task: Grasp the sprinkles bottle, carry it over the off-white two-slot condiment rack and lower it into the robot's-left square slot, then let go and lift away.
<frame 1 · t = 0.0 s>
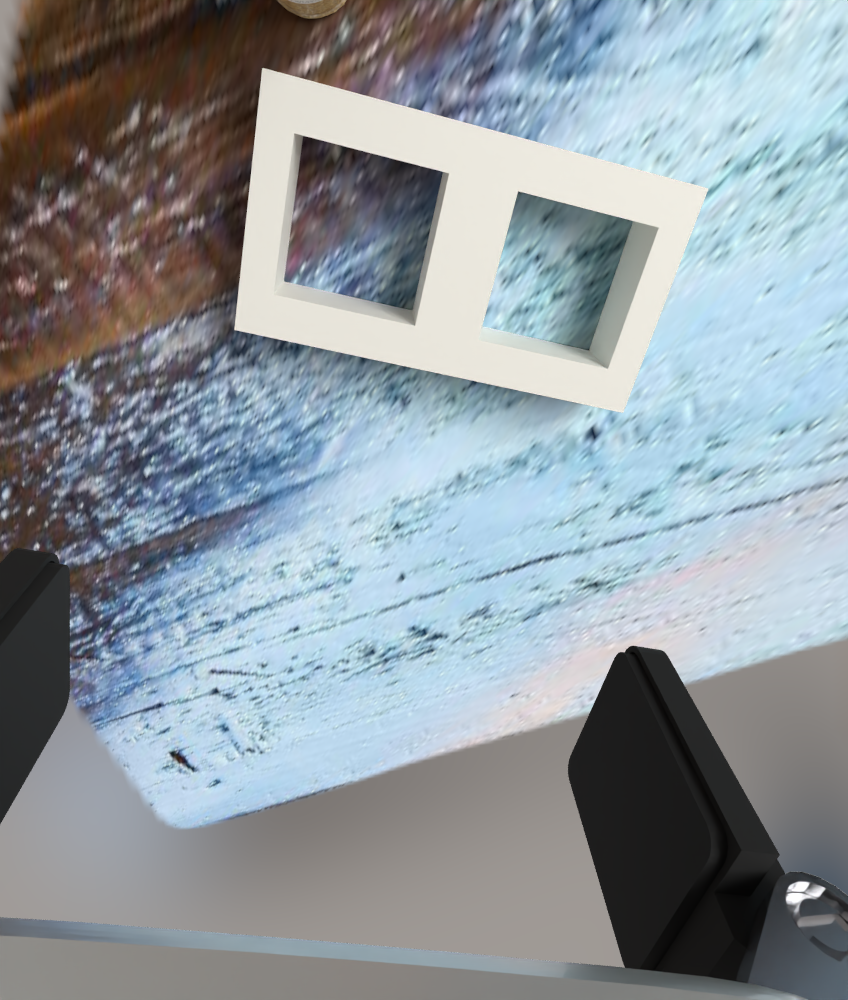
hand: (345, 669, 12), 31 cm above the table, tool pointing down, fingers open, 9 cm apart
condiment rack: (457, 251, 38), on the table
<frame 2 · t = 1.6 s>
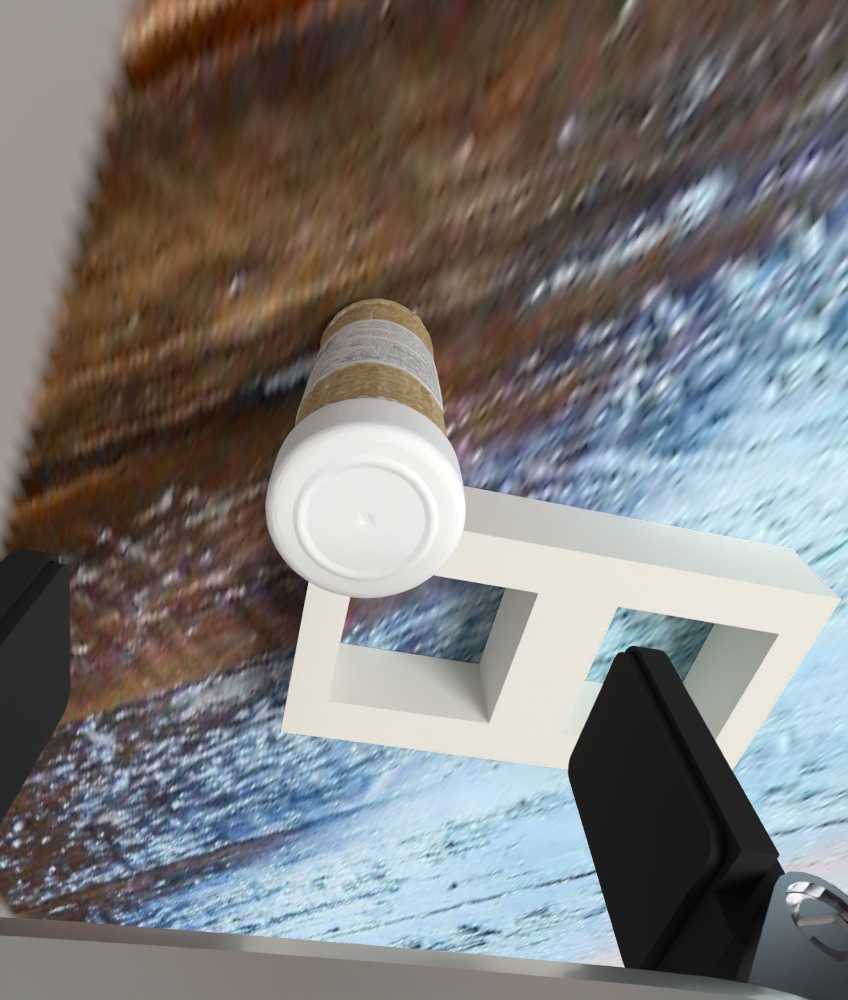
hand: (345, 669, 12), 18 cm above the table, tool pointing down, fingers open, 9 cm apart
sprinkles bottle: (377, 351, 27), on the table
condiment rack: (533, 611, 33), on the table
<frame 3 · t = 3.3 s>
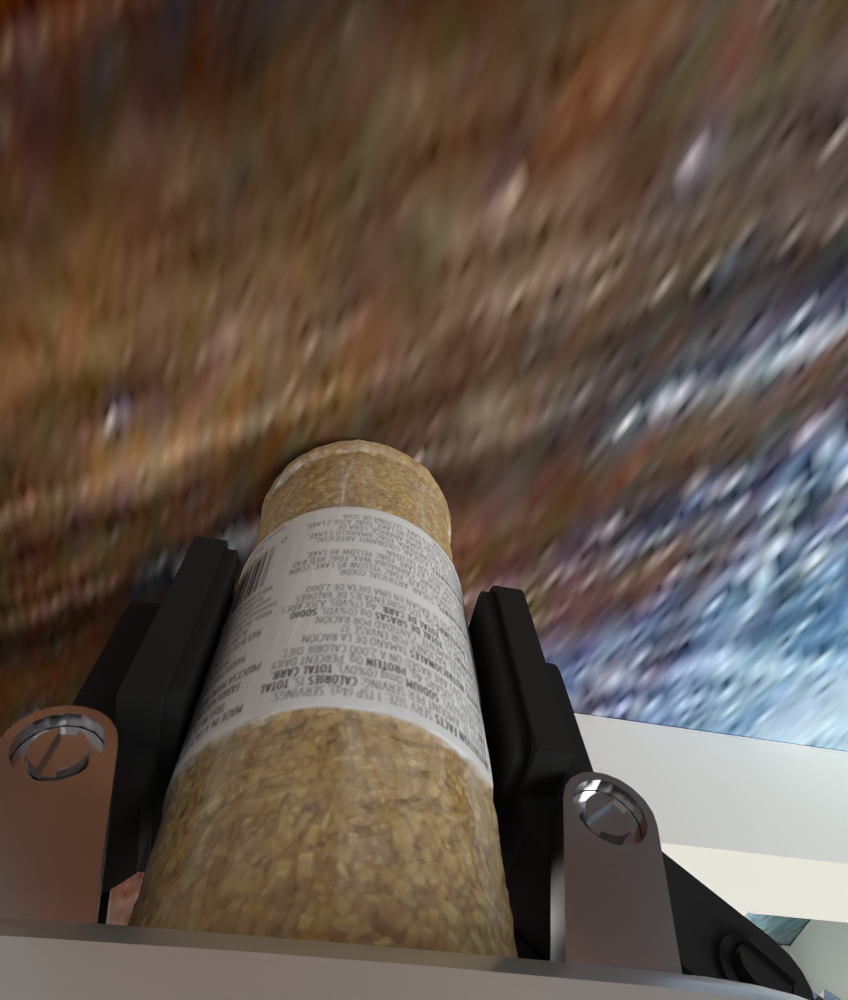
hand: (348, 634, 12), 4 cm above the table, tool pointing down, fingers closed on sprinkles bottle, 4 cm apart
sprinkles bottle: (357, 515, 16), on the table, touching gripper
condiment rack: (593, 856, 22), on the table
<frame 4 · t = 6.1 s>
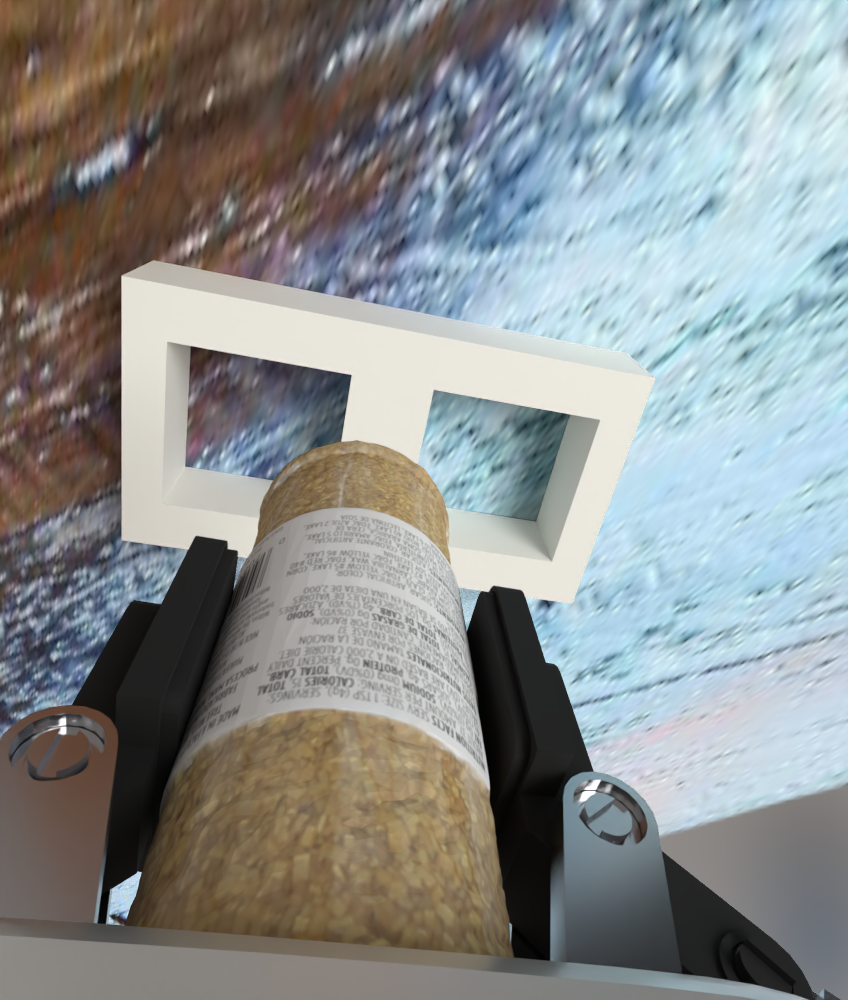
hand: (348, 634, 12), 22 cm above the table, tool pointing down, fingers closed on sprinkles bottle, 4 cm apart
sprinkles bottle: (356, 516, 16), point 17 cm above the table, touching gripper
condiment rack: (378, 429, 34), on the table
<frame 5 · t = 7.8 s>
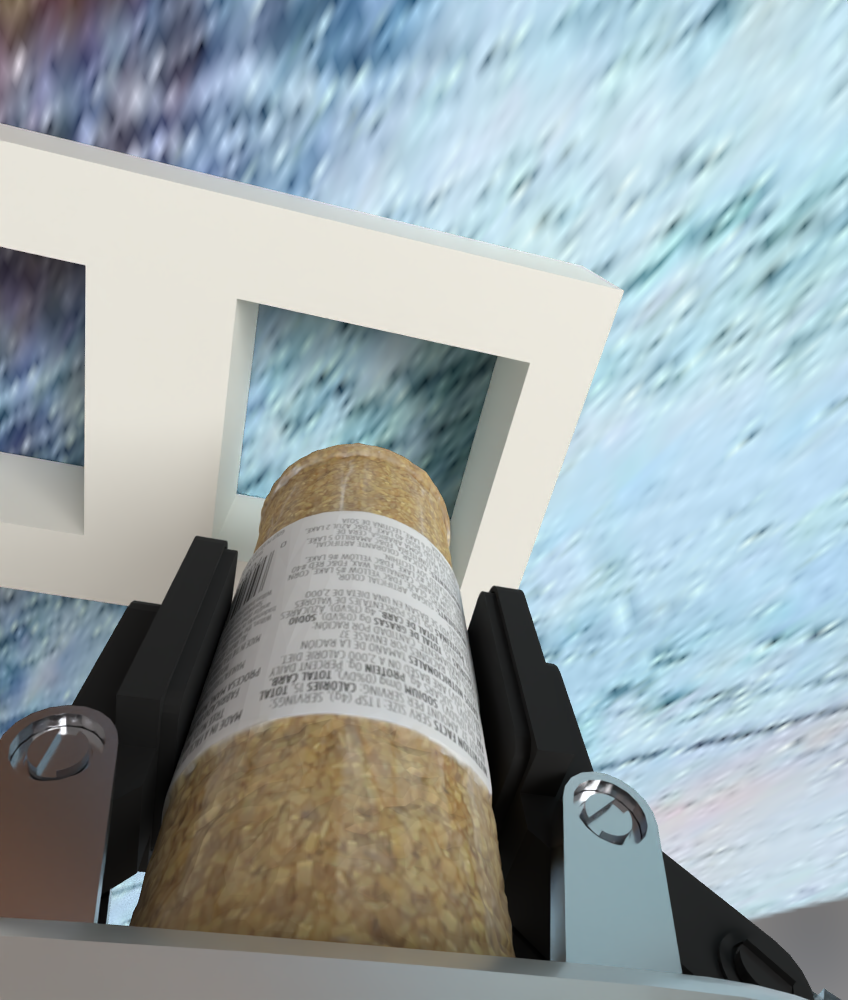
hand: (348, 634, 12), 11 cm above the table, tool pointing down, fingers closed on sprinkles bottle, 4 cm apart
sprinkles bottle: (357, 519, 16), point 7 cm above the table, touching gripper
condiment rack: (192, 379, 21), on the table
when the fingers open (6 cm above the table, at t = 9.2 s): sprinkles bottle drops 1 cm, resting in condiment rack.
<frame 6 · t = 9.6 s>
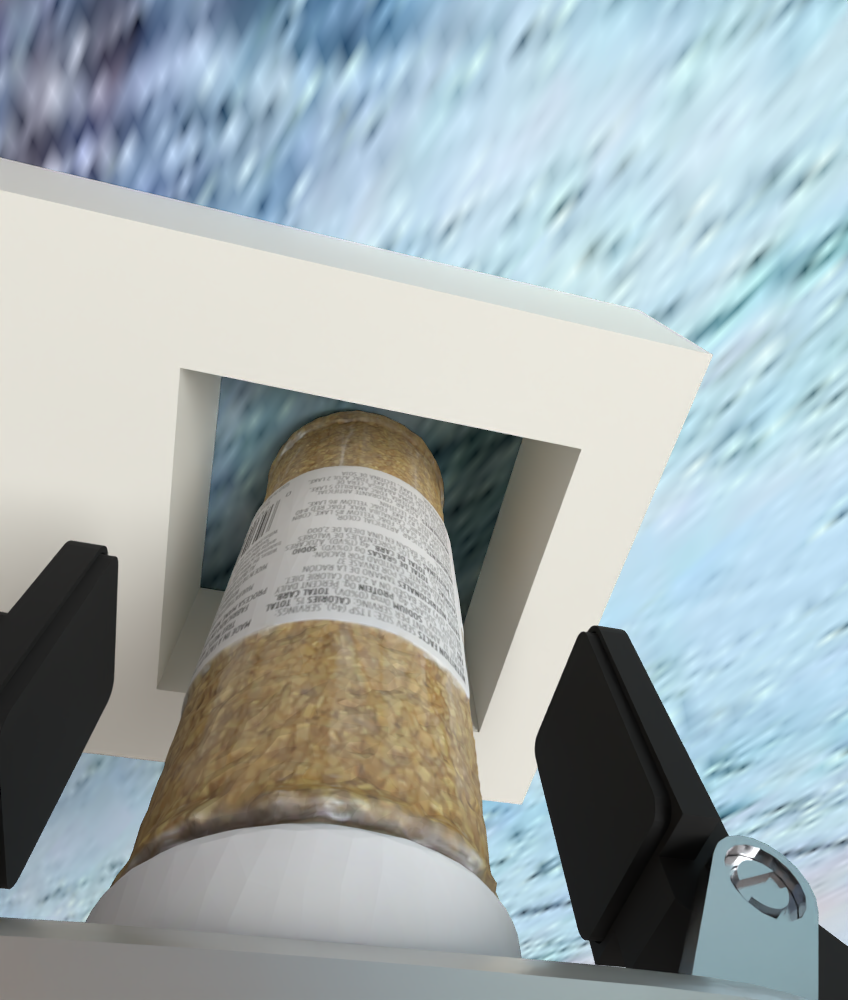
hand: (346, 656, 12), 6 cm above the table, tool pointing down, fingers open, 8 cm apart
sprinkles bottle: (357, 483, 18), resting in condiment rack
condiment rack: (140, 452, 17), on the table
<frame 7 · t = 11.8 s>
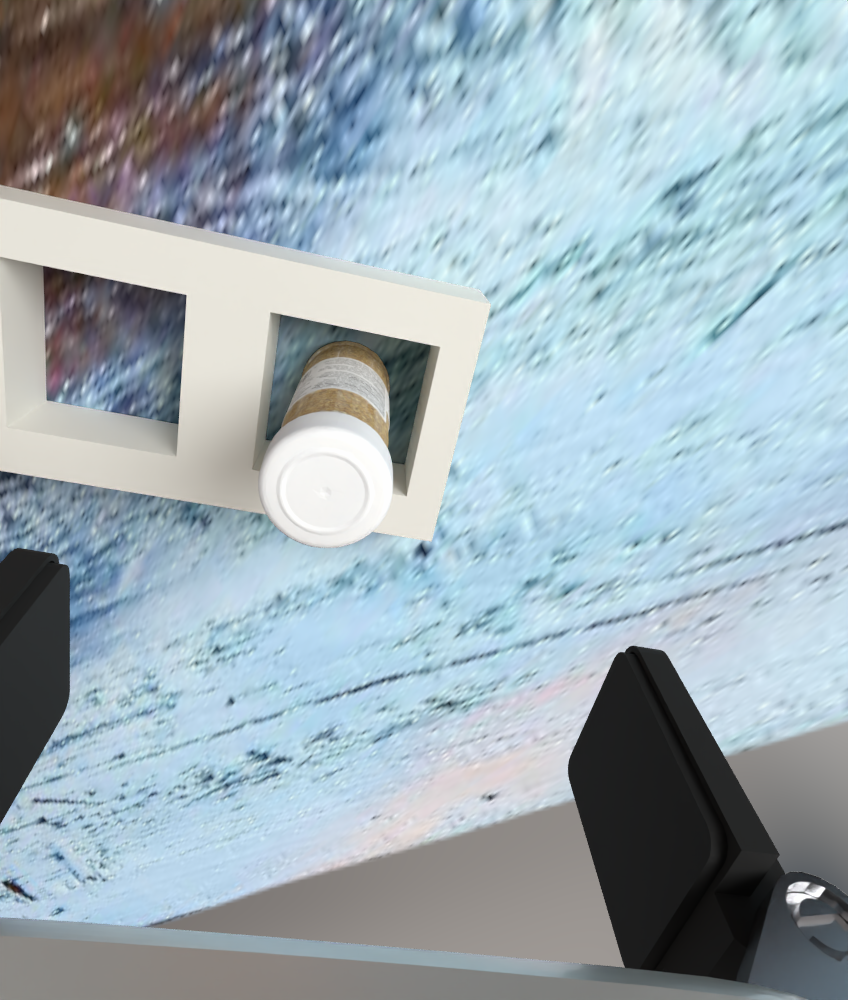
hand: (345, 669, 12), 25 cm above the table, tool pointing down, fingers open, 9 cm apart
sprinkles bottle: (346, 381, 35), resting in condiment rack
condiment rack: (238, 364, 34), on the table
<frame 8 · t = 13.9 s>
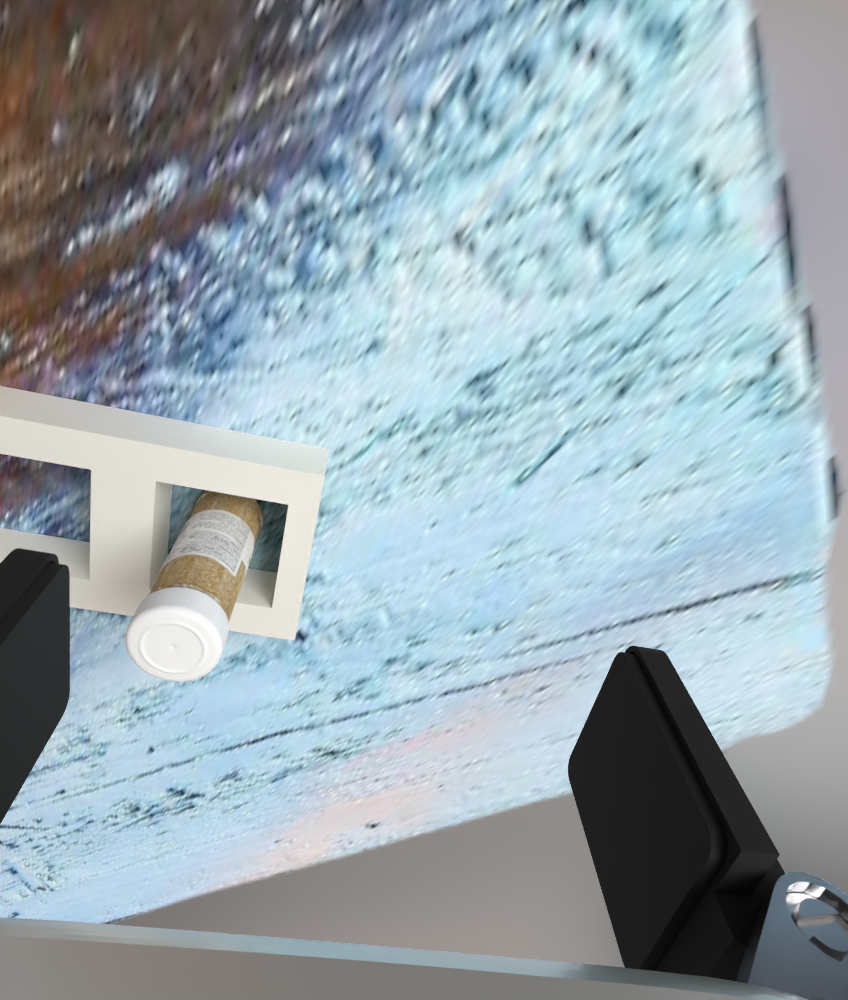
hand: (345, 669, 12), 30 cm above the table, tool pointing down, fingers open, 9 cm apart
sprinkles bottle: (230, 512, 44), resting in condiment rack
condiment rack: (143, 501, 43), on the table
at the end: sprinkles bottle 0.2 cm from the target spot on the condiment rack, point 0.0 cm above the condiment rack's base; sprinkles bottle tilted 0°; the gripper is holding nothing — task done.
